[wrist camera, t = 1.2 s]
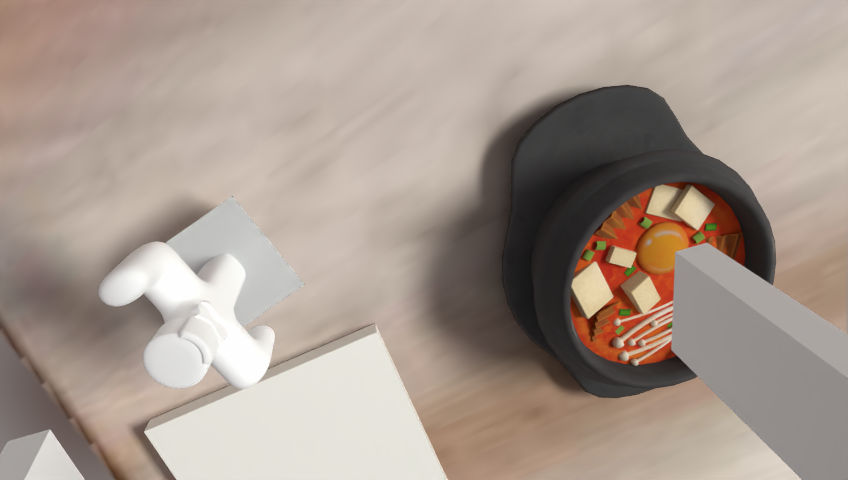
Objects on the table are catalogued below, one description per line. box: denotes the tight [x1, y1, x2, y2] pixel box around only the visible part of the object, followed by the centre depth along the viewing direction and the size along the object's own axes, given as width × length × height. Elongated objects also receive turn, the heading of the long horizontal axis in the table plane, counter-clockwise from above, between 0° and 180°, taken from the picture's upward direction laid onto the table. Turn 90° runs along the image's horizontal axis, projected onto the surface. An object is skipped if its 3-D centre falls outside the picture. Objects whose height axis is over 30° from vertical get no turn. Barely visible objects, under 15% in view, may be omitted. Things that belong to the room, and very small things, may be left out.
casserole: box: [502, 85, 776, 398], centre depth 40 cm, size 25×19×8 cm
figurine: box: [99, 196, 305, 389], centre depth 32 cm, size 7×9×15 cm
